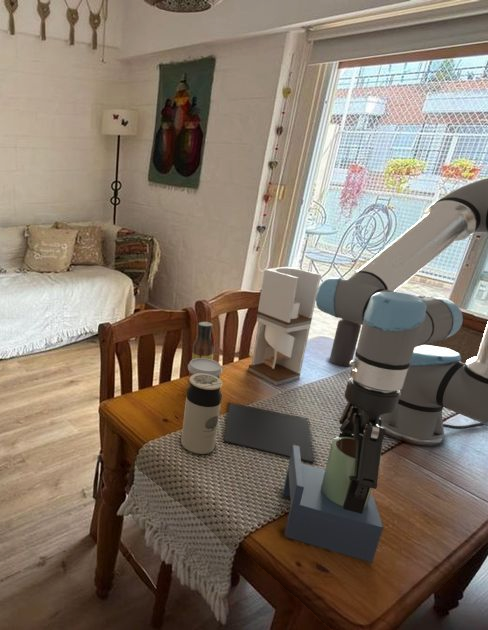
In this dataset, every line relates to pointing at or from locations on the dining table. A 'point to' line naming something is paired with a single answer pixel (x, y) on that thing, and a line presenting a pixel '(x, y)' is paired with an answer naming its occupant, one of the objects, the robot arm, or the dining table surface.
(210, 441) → the travel mug
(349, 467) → the cup
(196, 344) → the sauce bottle
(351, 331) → the vinegar
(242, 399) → the dining table surface
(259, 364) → the white dispenser tower
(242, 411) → the mat
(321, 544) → the blue l-shaped block
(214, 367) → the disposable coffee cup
